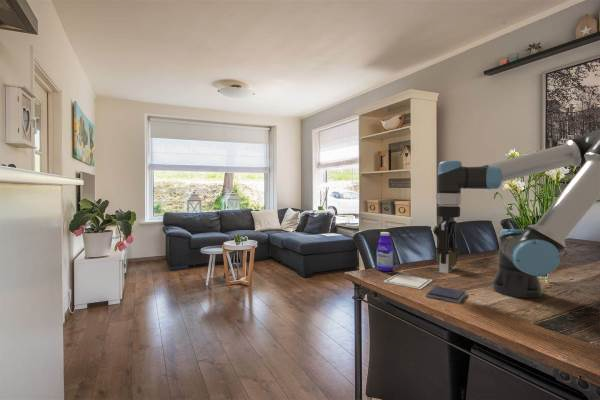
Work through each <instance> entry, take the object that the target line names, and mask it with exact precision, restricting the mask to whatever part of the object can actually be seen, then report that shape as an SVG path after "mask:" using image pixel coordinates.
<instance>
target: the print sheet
mask: <svg viewBox="0 0 600 400" xmlns="http://www.w3.org/2000/svg"><path fill="white" fill-rule="evenodd" d="M433 281H434V280H433V279H431V278H425V277H424V278H423V277H421V276H420V277H418V276H415V275H407V274H402V273H397V274H393V276H391V277H389V278H387V279H386V280H383V281H382V283H385V284H390V285H396V286H400V287H406V288H411V289H416V290H422V289H424V288H425V287H426V286H427V285H429V284H430V283H432V282H433Z"/></svg>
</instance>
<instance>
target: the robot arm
mask: <svg viewBox="0 0 600 400" xmlns="http://www.w3.org/2000/svg"><path fill="white" fill-rule="evenodd" d="M569 166H572V167H574V168H576V167H580V168H579V170H578V171H577V173H576V174H575V175H574V176H573V177H572V178H571V180H570V181H569V183H568V184H567V185H566V186H565V187H564V188H563V190H562V191H561V192H560V193H559V195H558V196H557V197H556V199H554V201H553V203H552V204H551V205H550V206H549V207H548V209H547V210H546V211H545V212H544V214H543V215H541V217H540V218H539V219H538V221H537V222H536V223H535V224H530V225H527V226H526V227H525V229H517V228H515V229H514V228H511V229H507V228H506V229H505V228H503V229H501V230H500V232H499V237H498V238H499V241H498V242H499V246H498V247H499V251H498V270H497V272H496V275H495V277H494V279H493V282H492V289H493V290H494V291H495V292H497V293H500V294H503V295H505V296H509V297H513V298H514V297H515V298H522V299H524V298H525V299H536V298H537V299H538V298H541V297H542V296H543V288H542V286H541V282H540V280H539V276H547V275H549V274H551V273H552V272H554V271H555V270H556V269H557V268H558V266H559V264H560V260H561V258H560V257H561V256H560V254H561V253H562V252H563V251H564V250H565V248H567V246H566V243H565V239H566V238H567V237H568V236H569V235H570V233H571V232H572V231H573V230H574V228H575V227H576V226H577V225H578V224H579V223H580V222H581V220H582V219H583V218H584V217H585V215H586V214H587V213H588V212H589V210H590V209H591V208H592V207H593V206H594V205H595V204H596V202H597V200H599V198H600V128H598V129H595V130H593V131H591V132H588V133H586V134H584V135H581V136H578V137H576V138H572V139H569V140H568V139H567V140H566V142H565V143H564V144H561V145H560V144H559V145H556V146H553V147H550V148H545V149H542V150H537V151H534V152H531V153H527V154H523V155H519V156H516V157H510V158H507V159H503V160H499V161H496V162H493V163H489V164H485V165H481V166H463V163H462V161H460V160H444V161H440V162H439V163H438V167H437V184H436V185H437V189H436V190H437V194H436V195H435V199H436V200H437V201H436V204H437V206H436V216H437V217H440V218H441V221H440V223H439V224H438V241H437V242H438V244H437V247H438V251H437V253H438V254H440V265H439V271H438V273H442V274H449V272H448V261H449V254H448V250H449V249H450V247H451V249H453V248H455V249H457V250H458V248H457V242H456V241H457V224H458V223H457V220H455V218H459V217H461V207H460V205H461V204H462V201H461V200H462V189H463V190H464V189H469V190H470V189H471V190H473V189H474V190H478V189H479V190H481V189H482V190H495V189H499V188H500V187H501V186H502V183H503V182H507V181H511V180H515V179H520V178H524V177H527V176H531V175H536V174H539V173H543V172H545V173H546V172H548V171H549V172H550V171H553V170H556V169H561V168H565V167H569ZM442 249H444V250H442ZM450 252H451V251H450ZM452 269H453V270H455V269H454V267H452Z"/></svg>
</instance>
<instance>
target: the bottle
mask: <svg viewBox="0 0 600 400" xmlns="http://www.w3.org/2000/svg"><path fill="white" fill-rule="evenodd" d="M379 235H380V237H379V240H378V245H377V248H376V268H377V270H379V271H384V272H391V271H392V270H393V269H394V247H393V246H392V241H391V237H390V232H388V231H380V234H379Z"/></svg>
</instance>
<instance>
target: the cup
mask: <svg viewBox="0 0 600 400" xmlns="http://www.w3.org/2000/svg"><path fill="white" fill-rule="evenodd" d="M442 250H444V249H442ZM459 250H460V249H458V248H457V249H455V248H453V249H451V247H450V249H449V250H448V254H449V261H448V273H450V272H452V271H453V270H452V267H454V266H455V265H456V266H457V262H458V258H459ZM437 251H438V246H437V247H435V255H436V256H435V257H436V262H437V264H439V265H440V254H438V253H437ZM450 251H451V252H450Z"/></svg>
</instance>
